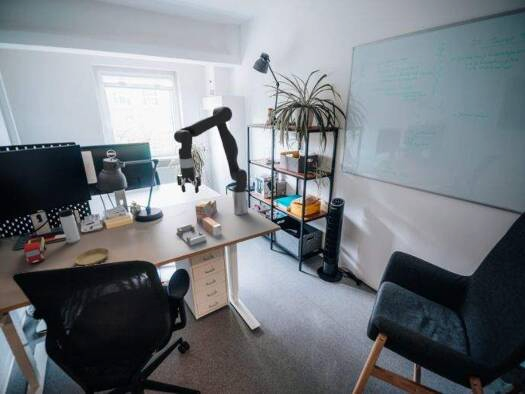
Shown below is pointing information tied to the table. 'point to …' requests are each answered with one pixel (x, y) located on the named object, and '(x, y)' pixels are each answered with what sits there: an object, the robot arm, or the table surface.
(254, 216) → the table surface
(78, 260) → the plant saucer
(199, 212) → the stack of blocks
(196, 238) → the cradle jig
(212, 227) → the peach lotion tube
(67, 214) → the travel mug
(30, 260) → the toy truck
